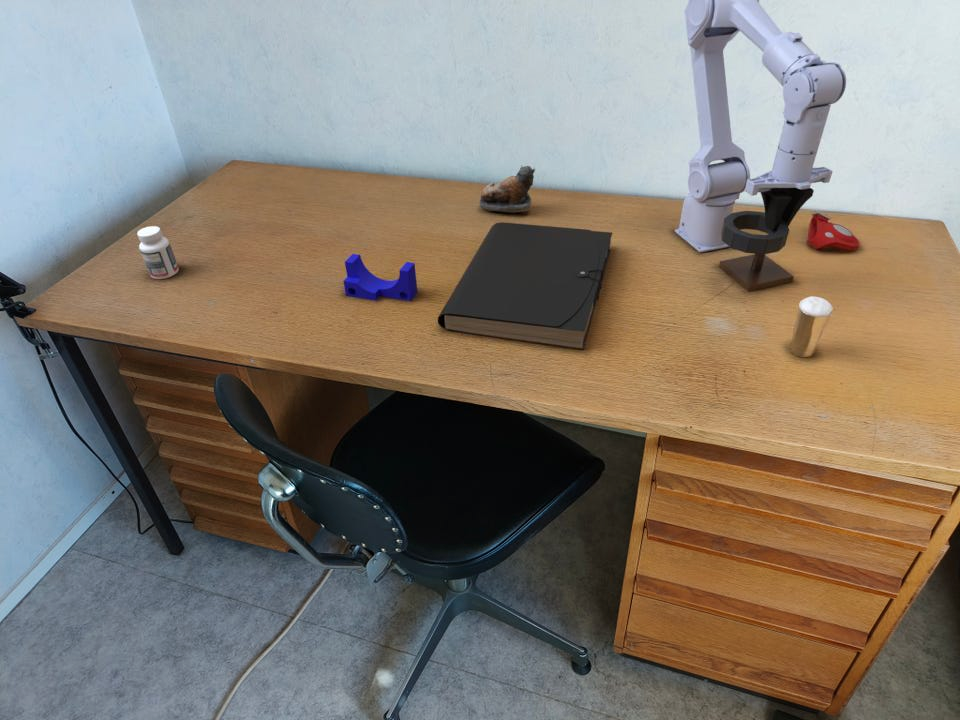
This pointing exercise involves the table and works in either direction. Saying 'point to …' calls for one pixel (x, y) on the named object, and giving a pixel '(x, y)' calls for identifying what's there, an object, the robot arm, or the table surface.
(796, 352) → the milkshake
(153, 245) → the pill bottle
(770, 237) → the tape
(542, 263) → the dark grey book
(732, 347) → the table surface
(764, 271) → the brown peg stand
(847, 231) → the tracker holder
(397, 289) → the blue cradle bracket
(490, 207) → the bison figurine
